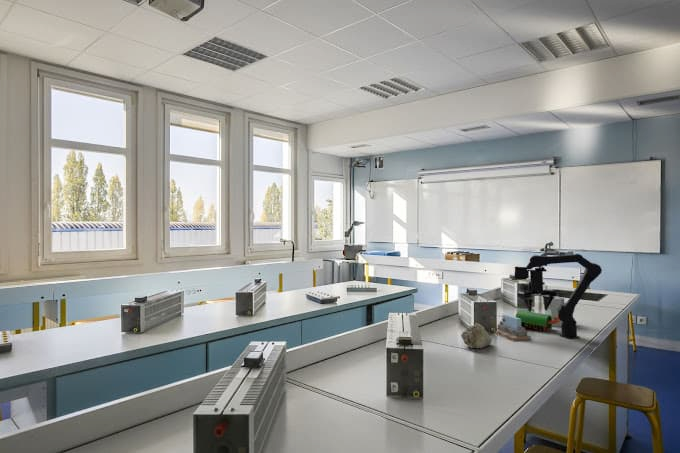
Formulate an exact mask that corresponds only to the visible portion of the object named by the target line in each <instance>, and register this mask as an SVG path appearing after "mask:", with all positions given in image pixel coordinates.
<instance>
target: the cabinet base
mask: <svg viewBox="0 0 680 453" xmlns="http://www.w3.org/2000/svg"><path fill="white" fill-rule="evenodd" d="M496 328H497V331H496V333H497V334H499V335H501V336H500V337H502V336H503V337H502V338H504V337H506V338H505V339H507V338H508V339H507V340H509V339H510V341H511V340H518V341H525V340H528V339H529V340H532V336H531V335H529V334H528V330H526V327H525V326H524V327H521V328H517V331H516V330H513V329H511V328H508V327H505V326H503V322H502V320H501V321H499V324H497V327H496ZM497 334H496V335H497ZM499 335H498V336H499Z"/></svg>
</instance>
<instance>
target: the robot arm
mask: <svg viewBox="0 0 680 453" xmlns="http://www.w3.org/2000/svg"><path fill="white" fill-rule="evenodd" d="M565 263H566V264H568V263H577V264H579V265H581V267H583V268H585V269H584V271H583V274H582V278H581V279H580V281H579V283H578V284H577V286H576V287H575V289H574V291H573V292H572V293H571V295H570V296H569V298H568V300H567V301H566V302H564V303H565V304H564V305H563V304H562V303H561V304H560V307H559V308H558V309H557V315H558V318H559V320H561V321H562V322H563V323H562V326H560V327H561V333H560V334H559V336H560V337H563V338H565V339H578V338H581V336H579V335H578V331H577V321H576V319H575V317H574V313H575V308H576V306H577V305H578V303H579V302H580V300H581V298H582V297H583V295H584V294H585V292H586V291H587V290H588V288H589V286H590V285H591V283H592V282H594V281H595V280H596V279H597V278H598V277H599V276H600V275H601V274H602V270H603V269H602V267H601V266H600V264H598V263H595V262H591V261H590V260H588V259H587V258H585V256H583V255H582V254H580V253H575V254H562V255H550V256H549V255H539V254H537V255H536V254H534V255H532V256H531V257H530V258H529V262H528V263H527V264H526V266H514V280H517V281H527V280H528V279H529V278H530V279H529V280H530V281H528V284H526V283H522V284H520V285H519V288H520V290H519V291H518V293H517V298H519V299H521V300H523V302H524V304H525V306H526V308H527V310H528V311H527V312H532V306H533V305H532V304H533V298H532V297H538V296H542V300H543V299H544V304H543V307H544V311H545V310H547V309H548V307H549V305H550V303H551V301H552V300H553V298H555V297H554V296H558V294H557V291H556V290H554V289H544V285H545V284H546V282H544V277H543V276H544V272H547V269H546V268H545V267H544V266H547V265H553V264H554V265H555V264H565ZM572 315H573V317H572Z"/></svg>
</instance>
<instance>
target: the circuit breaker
mask: <svg viewBox="0 0 680 453" xmlns="http://www.w3.org/2000/svg"><path fill="white" fill-rule="evenodd" d="M554 297H555V298H553V300H552V301H551V303H550V305H549V307H548V309H547V310H545V309H544V314H547V315H551V317H552V321H554V317H558V315H557V309H558V308H559V307H560V304H561V303H562V304H563V305H564V304H565V303H566V302H565V298H564V297H562V296H561V297H560V296H558V295H557V296H554ZM542 305H544V299H543V298H542ZM572 317H573V318H574V314H573V315H572ZM562 323H563V322H562V321H561V320H559V323H557V324H552V327H561V326H562Z"/></svg>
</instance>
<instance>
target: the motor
mask: <svg viewBox="0 0 680 453" xmlns="http://www.w3.org/2000/svg"><path fill="white" fill-rule="evenodd" d="M515 317H517V318H520V319H521V326H522V327H524V328H527V329H534V330H537V331H539V330H540V331H543V332H546V331H548V330H552V329H553V326H552V324H557V323H559V318H558V317H554V321H552V317H551V315H547V314H545V313H540V312H532V311H531V312H529V311H526V310H519V309H518V310H517V312H516V314H515Z"/></svg>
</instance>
